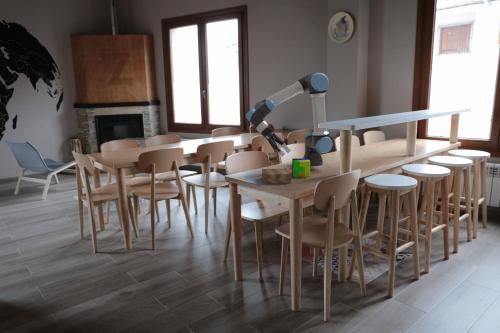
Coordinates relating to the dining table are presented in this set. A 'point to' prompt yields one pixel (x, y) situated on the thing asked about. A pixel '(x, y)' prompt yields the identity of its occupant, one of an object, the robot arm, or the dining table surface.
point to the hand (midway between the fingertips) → (286, 153)
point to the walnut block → (276, 176)
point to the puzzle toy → (301, 167)
